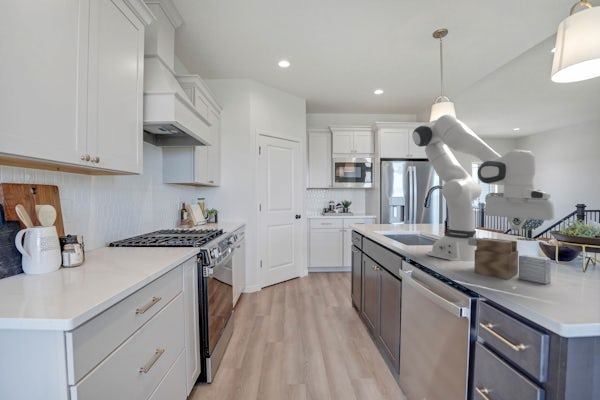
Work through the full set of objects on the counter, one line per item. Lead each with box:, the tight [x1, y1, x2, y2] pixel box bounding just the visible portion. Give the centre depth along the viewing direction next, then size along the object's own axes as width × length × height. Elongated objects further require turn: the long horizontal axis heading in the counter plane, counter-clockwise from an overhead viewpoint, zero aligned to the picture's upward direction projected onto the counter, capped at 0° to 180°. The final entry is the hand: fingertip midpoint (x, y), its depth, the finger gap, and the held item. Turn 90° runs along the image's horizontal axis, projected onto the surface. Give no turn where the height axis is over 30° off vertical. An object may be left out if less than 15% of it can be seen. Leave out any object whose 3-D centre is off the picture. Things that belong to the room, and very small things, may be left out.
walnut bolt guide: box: [474, 237, 519, 281], centre depth 105 cm, size 11×12×13 cm
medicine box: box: [518, 253, 552, 285], centre depth 96 cm, size 8×4×9 cm, turn 32°
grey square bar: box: [468, 237, 512, 246], centre depth 107 cm, size 14×3×3 cm, turn 38°
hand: (515, 230), depth 100 cm, fingers closed
